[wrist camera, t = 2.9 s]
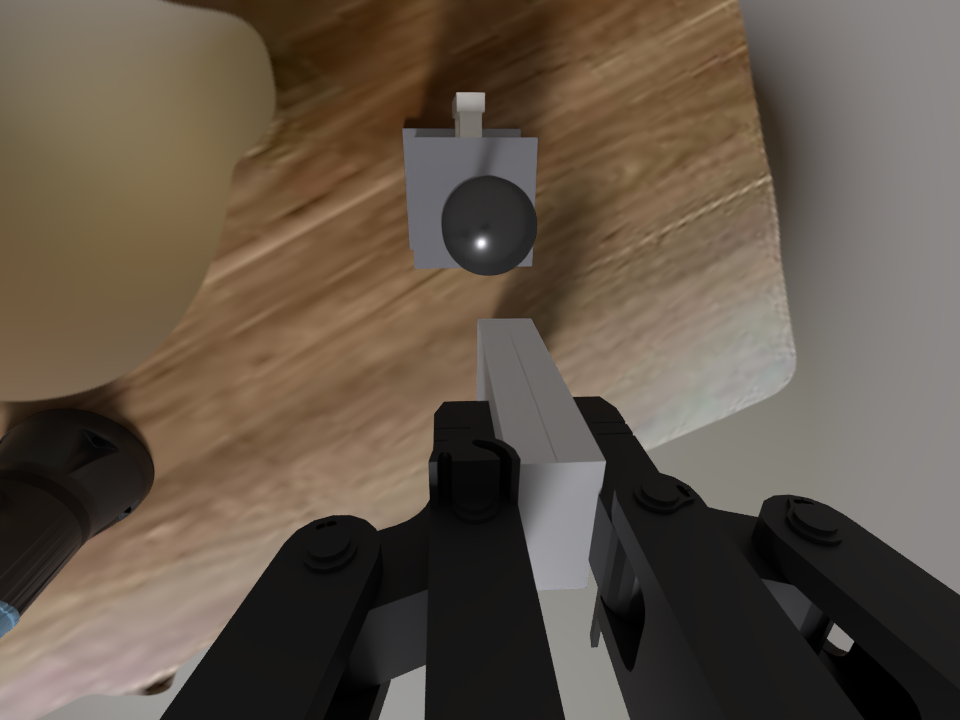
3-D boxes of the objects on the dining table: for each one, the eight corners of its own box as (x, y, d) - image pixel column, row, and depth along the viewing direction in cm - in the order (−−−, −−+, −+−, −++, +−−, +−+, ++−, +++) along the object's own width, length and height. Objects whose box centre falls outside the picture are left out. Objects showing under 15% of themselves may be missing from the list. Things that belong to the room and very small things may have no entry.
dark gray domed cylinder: (434, 239, 38) (436, 284, 25) (432, 161, 36) (431, 168, 23) (506, 238, 38) (541, 281, 26) (507, 161, 36) (547, 167, 23)
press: (410, 247, 48) (402, 282, 36) (401, 105, 43) (389, 88, 31) (515, 245, 49) (543, 278, 37) (520, 106, 44) (554, 89, 31)
